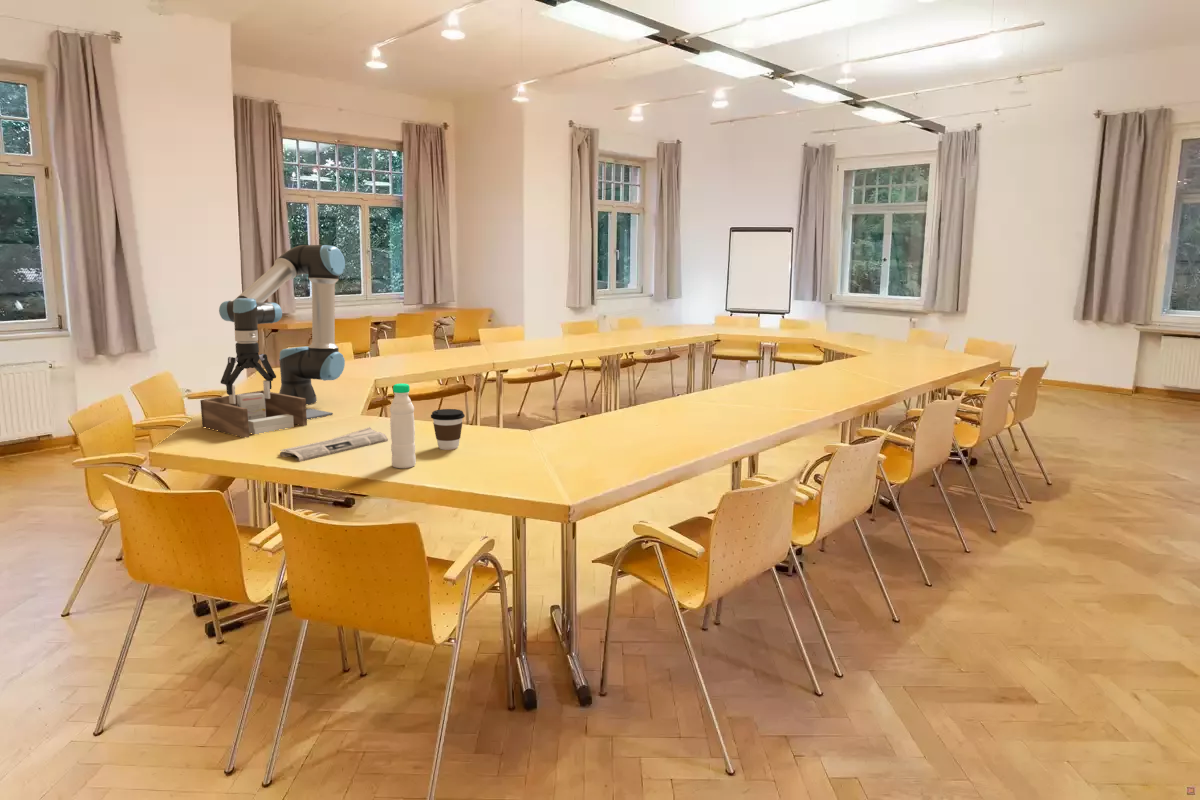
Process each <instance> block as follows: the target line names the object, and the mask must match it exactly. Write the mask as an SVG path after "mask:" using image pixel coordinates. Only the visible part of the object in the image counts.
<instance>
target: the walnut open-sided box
mask: <svg viewBox="0 0 1200 800" xmlns="http://www.w3.org/2000/svg"><path fill="white" fill-rule="evenodd" d="M257 392H261V393H263V394H264V390H257V391H256V390H255V391H250V392H249V393H257ZM247 393H248V392H244V393H242V394H247ZM235 398H236V404H231V403H229V395H226V396H219V397H212V398H206V399H201V400H200V401H199V402H200V411H201V413H200V414H201V423H202V425H201V426H202V427H201V428H203V427H206V428H210V429H214V430H218V431H217V432H219V431H221V432H220V433H223V432H225V433H224V434H227V433H229V434H228V435H231V434H233V435H232V436H235V435H237V436H236V437H239V436H241V437H240V438H243V437H248V438H250V433H249V425H248V411H247V408H243V407H238V406H237V394H235ZM265 408H266V417H272V416H279V415H285V414H289V415H293V421H294V422H293V423H295V424H294V425H296V424H299V425H298V426H301V425H303V426H302V427H305V426H304V425H306V426H308V420H307V416H306V409H307V405H306V398H300V397H295V396H290V395H284V394H279V392H273V391H270V399H266V398H265ZM206 428H205V429H206ZM210 429H209V430H210ZM214 430H213V431H214Z"/></svg>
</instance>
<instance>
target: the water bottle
mask: <svg viewBox="0 0 1200 800" xmlns="http://www.w3.org/2000/svg"><path fill="white" fill-rule="evenodd" d="M392 390H393V391H392V392H393V394H394V398H393V399H392V402H391V404H390V406H389V412H390V423H389V425H390V440H391V445H390V446H391V447H390V448H391V449H390V450H391V451H390V452H391V467H394V468H396V469H409V468H413V467H415V465H416V464H417V463H416V462H417V460H416V443H415V438H416V437H415V435H416V431H415V424H416V423H415V416H414V415H415V414H414V412H415V406H414V405H413V403H412V400H411V397H409V393H410V385H409V384H408V383H402V382H401V383H396V384H394V385H393V387H392Z"/></svg>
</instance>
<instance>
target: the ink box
mask: <svg viewBox="0 0 1200 800" xmlns="http://www.w3.org/2000/svg"><path fill="white" fill-rule="evenodd" d="M246 393H247V394H243V393H238V394H236V395H237V406H238V407H243V408H247V411H248V420H254V419H260V418H266V408H265V395H264V394H263V393H261V392H257V393H250V392H246Z"/></svg>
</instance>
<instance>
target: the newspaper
mask: <svg viewBox="0 0 1200 800" xmlns="http://www.w3.org/2000/svg"><path fill="white" fill-rule="evenodd" d="M388 440H389V438H388V437H387V435H386V433H383V432H381V431H376V430H374V429H372V427H371V426H369V427H366V428H363V429H359V430H356V431H354V432H353V431H352V432H350V433H347V434H343V435H341V436H340V435H339V436H336V437H334V438H330V439H327V440H323V441H317V442H313V443H308V444H302V445H298V446H293V447H288V448H283V449H279V451H280V452H279V456H280V457H283V458H286V457H287V458H288V457H292V456H296V458H295V461H298V462H305V461H309V460H312V459H317V458H321V457H326V456H330V455H333V454H334V455H335V454H339V453H342V452H347V451H350V450H351V451H352V450H355V449H360V448H364V447H368V446H372V445H376V444H381V443H385V442H388Z"/></svg>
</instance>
